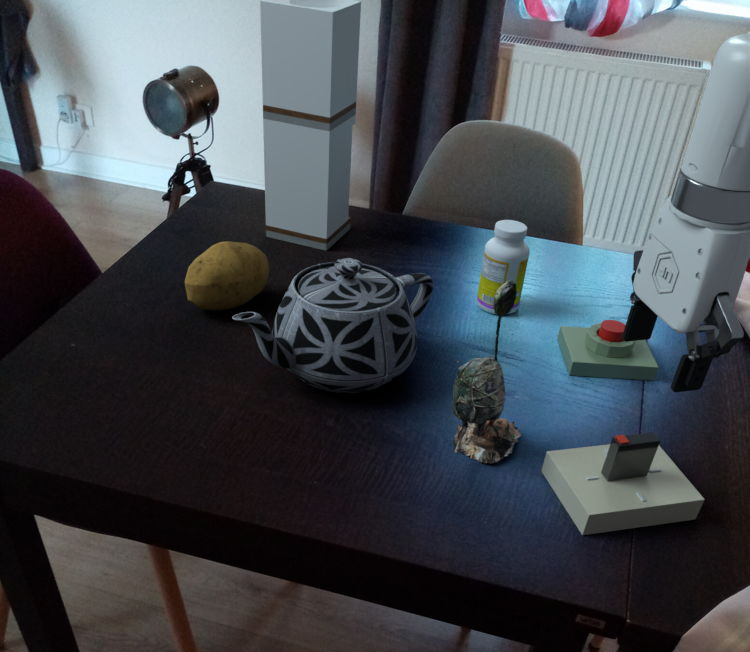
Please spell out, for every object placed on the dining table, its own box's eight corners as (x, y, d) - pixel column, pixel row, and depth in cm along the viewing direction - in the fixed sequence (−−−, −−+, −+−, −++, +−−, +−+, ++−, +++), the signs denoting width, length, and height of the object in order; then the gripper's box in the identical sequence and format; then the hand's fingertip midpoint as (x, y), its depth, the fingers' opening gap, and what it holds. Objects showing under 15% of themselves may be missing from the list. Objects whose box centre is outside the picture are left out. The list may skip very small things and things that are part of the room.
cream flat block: (646, 458, 95) (654, 437, 93) (695, 519, 87) (705, 498, 85) (541, 471, 92) (546, 450, 90) (582, 535, 84) (589, 514, 82)
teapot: (201, 368, 103) (191, 260, 93) (383, 311, 118) (391, 213, 108) (278, 442, 93) (276, 329, 83) (468, 369, 108) (485, 266, 98)
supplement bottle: (510, 295, 125) (526, 216, 117) (523, 316, 120) (541, 235, 112) (470, 296, 124) (483, 216, 115) (482, 317, 119) (496, 235, 111)
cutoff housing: (636, 344, 116) (644, 319, 114) (654, 380, 109) (663, 356, 106) (557, 338, 116) (563, 314, 113) (569, 375, 108) (575, 350, 106)
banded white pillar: (350, 228, 141) (361, 1, 117) (326, 250, 133) (332, 12, 110) (292, 215, 143) (292, -9, 120) (266, 236, 136) (260, 0, 112)
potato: (166, 240, 110) (198, 259, 105) (247, 227, 117) (282, 244, 112) (172, 305, 116) (204, 326, 110) (250, 288, 123) (283, 307, 117)
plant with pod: (422, 441, 95) (443, 289, 81) (491, 413, 100) (521, 266, 87) (467, 478, 90) (496, 322, 77) (536, 447, 95) (575, 296, 82)
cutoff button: (620, 331, 111) (623, 320, 110) (626, 344, 108) (629, 333, 107) (595, 329, 111) (598, 318, 110) (600, 342, 108) (604, 331, 107)
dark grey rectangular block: (639, 467, 89) (654, 430, 85) (647, 476, 88) (661, 438, 84) (600, 472, 87) (613, 434, 84) (607, 481, 86) (620, 443, 83)
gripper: (631, 164, 75) (588, 325, 86) (738, 240, 62) (672, 416, 74) (699, 162, 76) (648, 319, 88) (817, 235, 64) (740, 407, 75)
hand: (659, 363), depth 81 cm, fingers open, 9 cm apart
